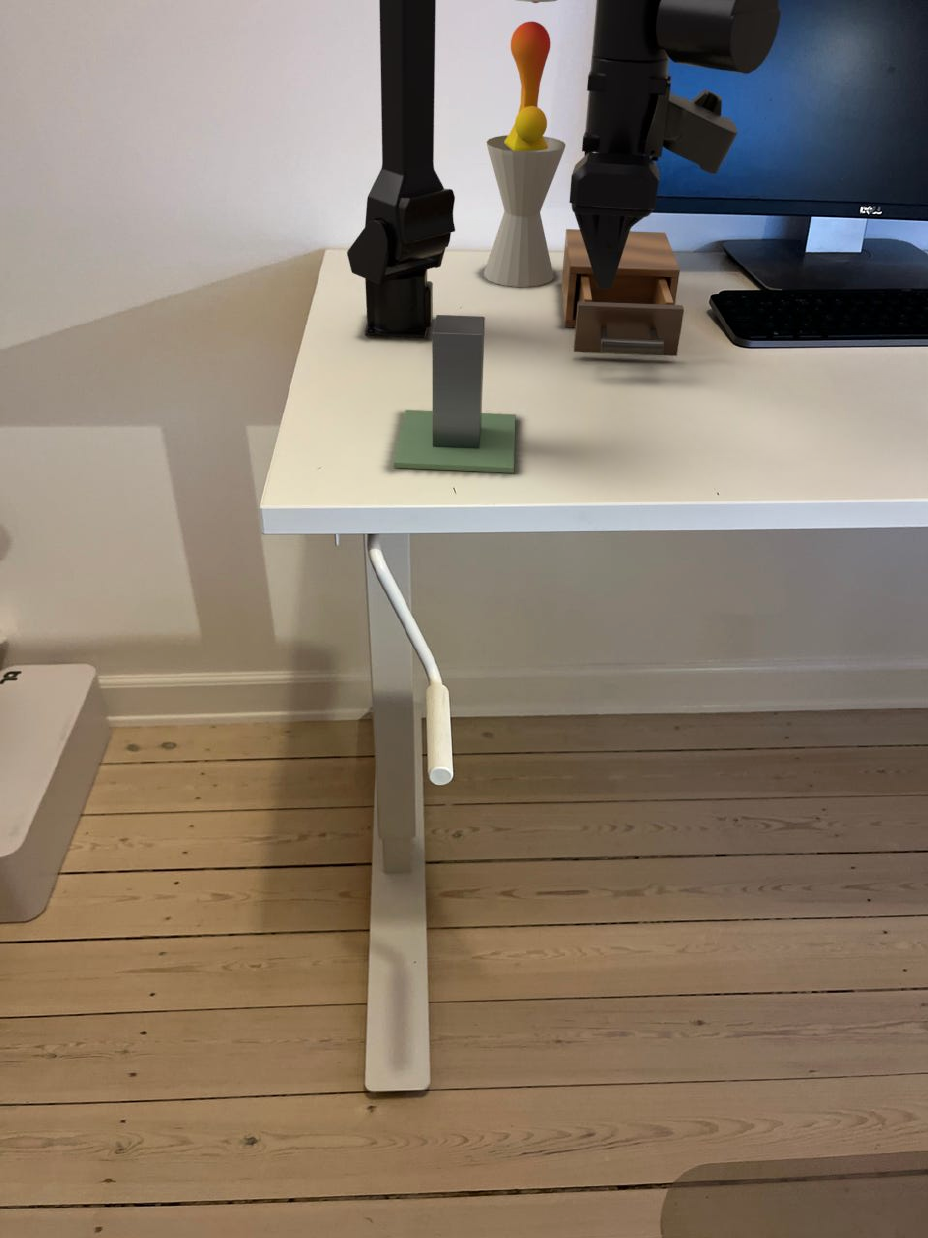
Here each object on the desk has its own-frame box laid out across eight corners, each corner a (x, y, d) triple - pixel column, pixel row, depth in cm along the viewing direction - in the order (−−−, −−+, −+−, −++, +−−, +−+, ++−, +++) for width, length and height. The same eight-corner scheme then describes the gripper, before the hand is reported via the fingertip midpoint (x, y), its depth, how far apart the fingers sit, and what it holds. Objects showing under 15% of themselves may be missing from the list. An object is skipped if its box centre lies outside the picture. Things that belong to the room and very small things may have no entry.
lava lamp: (474, 265, 121) (483, -76, 100) (542, 261, 123) (565, -75, 102) (493, 289, 114) (507, -72, 93) (565, 284, 116) (595, -71, 95)
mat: (393, 467, 80) (393, 462, 79) (405, 414, 88) (405, 409, 87) (513, 473, 79) (514, 467, 79) (515, 419, 87) (515, 414, 87)
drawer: (682, 374, 94) (690, 326, 91) (575, 370, 94) (580, 322, 91) (663, 311, 107) (669, 268, 104) (569, 308, 107) (573, 264, 104)
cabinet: (670, 330, 105) (680, 269, 101) (564, 326, 105) (569, 265, 101) (657, 288, 116) (665, 232, 112) (561, 285, 116) (566, 228, 112)
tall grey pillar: (432, 446, 82) (432, 332, 76) (436, 425, 85) (436, 314, 79) (479, 448, 82) (483, 334, 75) (481, 427, 85) (484, 316, 79)
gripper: (749, 81, 62) (708, 317, 72) (735, 44, 77) (702, 244, 87) (579, 73, 64) (560, 305, 73) (596, 38, 78) (579, 236, 88)
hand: (607, 270), depth 80 cm, fingers open, 9 cm apart
